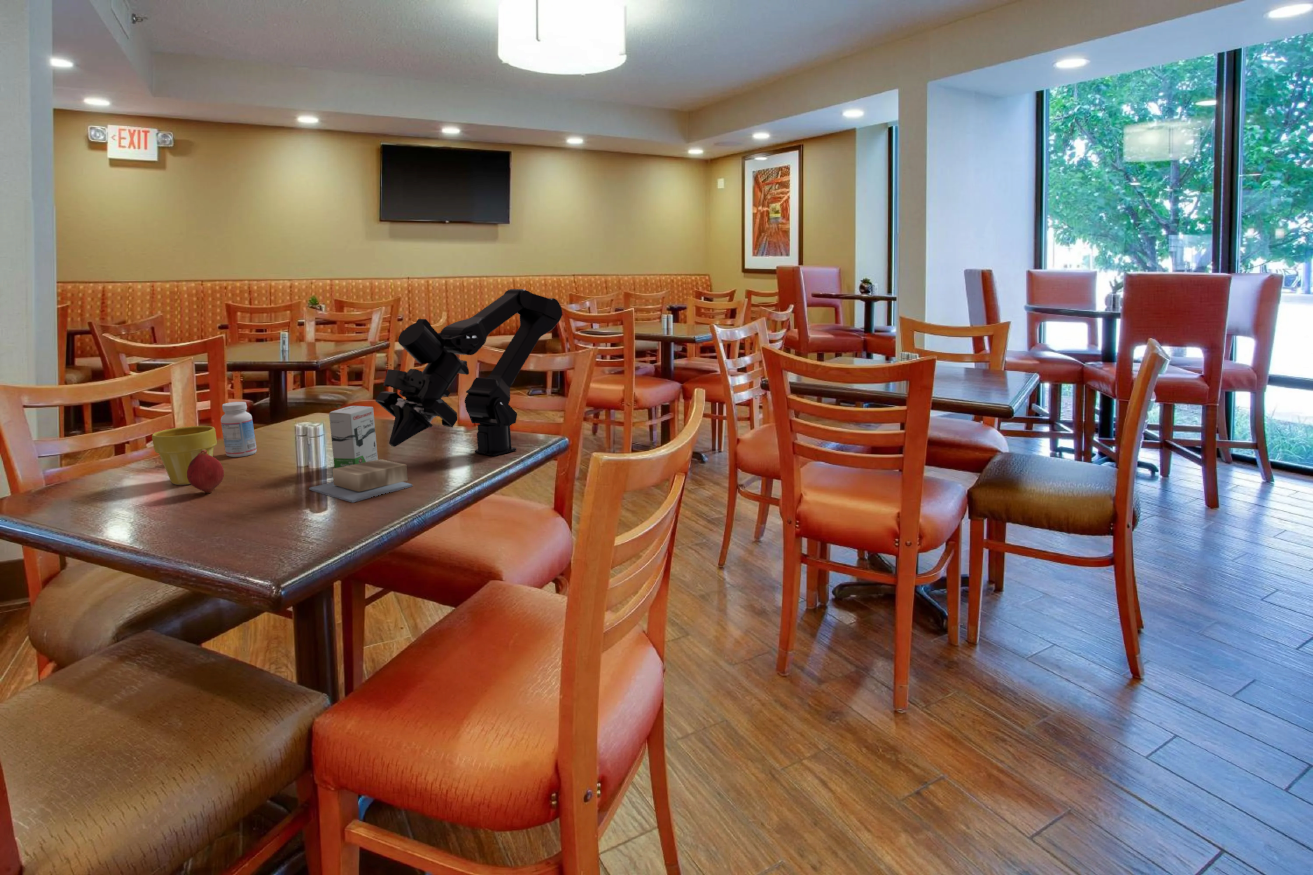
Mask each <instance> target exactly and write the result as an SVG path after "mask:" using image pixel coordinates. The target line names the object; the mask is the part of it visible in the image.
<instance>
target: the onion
mask: <svg viewBox="0 0 1313 875" xmlns="http://www.w3.org/2000/svg"><path fill="white" fill-rule="evenodd" d="M187 478H188V481H189V483H190V484H189V485H191V486H192V487H193V488H195V489H198V490H200V491H202V492H205V493H206V494H210V493H212V492H213V491H215V489H216V488H217V487H218V486H219V485H220V484H221V483H222V481H223V480H224V478H225V469H224V467H223V464H222V463H221V461H220V460H219V459H217V458H216V457H214V456H213V457H212V456H210V455H208V454H207V451H206V449H205V450H201V452H200V453H199V454H198V455H197V456H196V457H195V458H194V459H193V460H192V461H191V462H190V464H189V466H188V470H187Z"/></svg>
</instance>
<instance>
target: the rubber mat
mask: <svg viewBox="0 0 1313 875" xmlns="http://www.w3.org/2000/svg"><path fill="white" fill-rule="evenodd" d="M411 487H413V484H412V483H409V482H406V481H404V482H399V483H395V484H391V485H386V486H382V487H378V488H373V489H369V490H365V491H360V492H357V491H354V490H350V489H347V488H343V487H339V486H336V485H334V481H331V482H327V483H323V484H320V485H315V486H310V487H309V491H312V492H315V493H318V494H322V495H326V496H330V497H332V498H335V499H338V500H339V499H340V500H342V501H346V502H349V503H355V502H360V501H364V500H366V499H371V497H372V498H374V497H373V496H375V497H378V495H379V496H382V495H381V494H383V495H386V494H389V492H390V493H392V492H397V491H401V490H404V488H405V489H407V488H411ZM385 493H386V494H385Z"/></svg>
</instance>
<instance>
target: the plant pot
mask: <svg viewBox="0 0 1313 875" xmlns="http://www.w3.org/2000/svg"><path fill="white" fill-rule="evenodd" d="M151 439H152V440H151V441H152V445H153V449H154V452H155V453H156V454H158V455H159V457H160V460H161V461H162V464H163V466H164V469H165V471H166V473H167V475H168V478H169V480H170V483H171V484H173V485H177V486H183V485H184V486H185V485H186V486H187V485H191V484H190V483H189V481H188V478H187V470H188V466H189V464H190V462H191V461H192V460H193V459H194V458H195V457H196V456H197V455H198V454H199V453H200V452H201V450H205V449H206V451H207V454H208V455H210V456H212V457H214V448H215V447H216V446H217V444H218V443H217V432H216V428H215V427H214V426H210V425H209V426H208V425H194V426H193V425H191V426H181V427H173V428H168V429H164V430H159V431H156V432H153V434H152V435H151Z"/></svg>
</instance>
